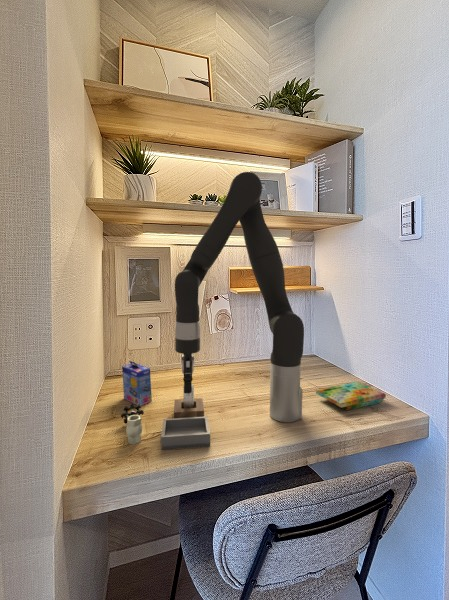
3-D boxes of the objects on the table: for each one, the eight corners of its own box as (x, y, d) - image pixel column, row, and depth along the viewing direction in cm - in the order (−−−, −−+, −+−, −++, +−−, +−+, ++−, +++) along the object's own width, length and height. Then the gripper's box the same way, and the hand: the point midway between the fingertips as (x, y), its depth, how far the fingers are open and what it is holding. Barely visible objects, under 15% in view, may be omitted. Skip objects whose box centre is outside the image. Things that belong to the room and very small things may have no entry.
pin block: (202, 409, 101) (202, 398, 101) (204, 423, 92) (204, 410, 92) (174, 411, 100) (174, 399, 100) (173, 425, 91) (173, 412, 91)
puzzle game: (385, 391, 105) (340, 401, 98) (385, 404, 106) (339, 415, 98) (359, 379, 116) (316, 387, 109) (358, 391, 117) (315, 400, 109)
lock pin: (193, 414, 98) (193, 384, 97) (194, 419, 95) (193, 388, 94) (183, 415, 98) (183, 384, 97) (183, 420, 95) (183, 388, 94)
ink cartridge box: (122, 399, 110) (120, 359, 108) (135, 394, 114) (134, 356, 113) (138, 406, 104) (137, 365, 102) (152, 401, 108) (151, 361, 106)
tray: (207, 427, 90) (207, 416, 90) (210, 446, 80) (210, 433, 80) (163, 430, 88) (163, 419, 88) (161, 450, 79) (161, 437, 78)
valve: (147, 442, 83) (143, 421, 94) (147, 419, 82) (143, 401, 93) (122, 447, 80) (121, 425, 92) (121, 423, 80) (120, 404, 91)
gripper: (201, 341, 87) (200, 396, 89) (198, 331, 101) (198, 378, 103) (174, 341, 86) (174, 397, 88) (175, 331, 100) (176, 379, 102)
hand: (187, 387), depth 95 cm, fingers open, 8 cm apart
